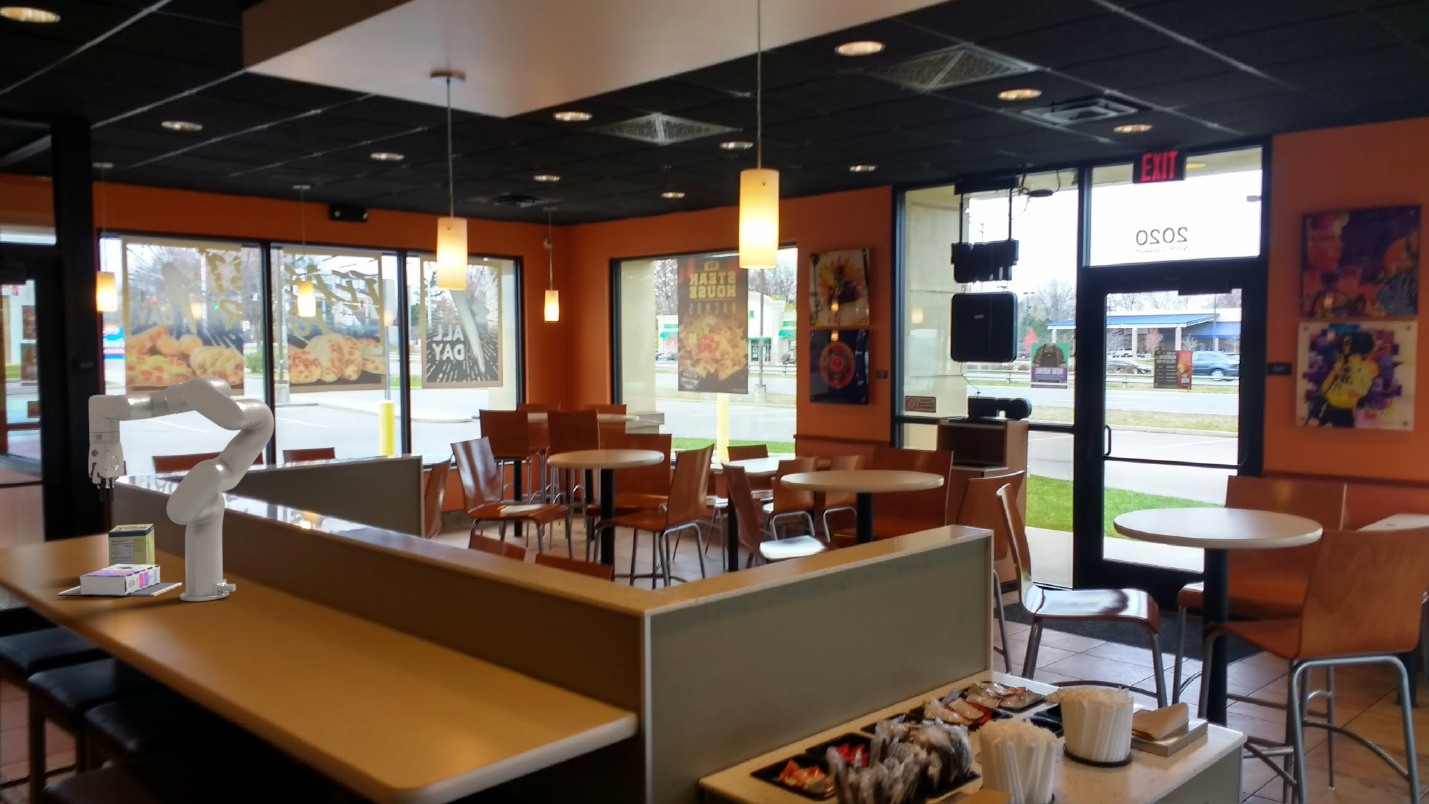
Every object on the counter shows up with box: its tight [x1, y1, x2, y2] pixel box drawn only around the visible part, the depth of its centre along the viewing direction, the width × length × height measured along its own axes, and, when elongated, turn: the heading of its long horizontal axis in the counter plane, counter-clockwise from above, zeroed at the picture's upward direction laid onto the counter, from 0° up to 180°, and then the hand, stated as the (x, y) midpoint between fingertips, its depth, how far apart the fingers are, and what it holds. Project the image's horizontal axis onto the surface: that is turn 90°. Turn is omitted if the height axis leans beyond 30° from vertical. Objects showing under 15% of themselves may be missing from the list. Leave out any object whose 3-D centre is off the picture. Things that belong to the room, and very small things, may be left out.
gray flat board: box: [57, 582, 183, 597], centre depth 305 cm, size 28×15×1 cm, turn 89°
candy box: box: [79, 564, 161, 595], centre depth 304 cm, size 14×6×16 cm
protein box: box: [107, 523, 156, 567], centre depth 324 cm, size 10×16×16 cm
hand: (106, 501), depth 298 cm, fingers closed
